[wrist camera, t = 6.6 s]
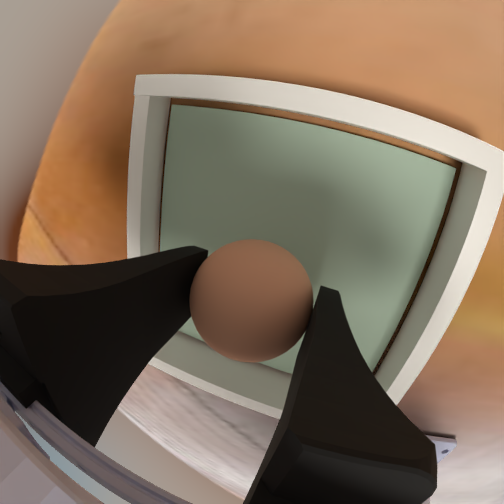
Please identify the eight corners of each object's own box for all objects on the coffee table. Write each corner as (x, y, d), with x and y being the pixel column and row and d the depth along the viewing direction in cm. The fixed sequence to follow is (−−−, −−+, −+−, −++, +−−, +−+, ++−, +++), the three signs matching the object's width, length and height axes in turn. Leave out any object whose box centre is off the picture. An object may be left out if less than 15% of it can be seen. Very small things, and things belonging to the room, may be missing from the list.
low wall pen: (369, 407, 14) (365, 443, 12) (147, 326, 17) (123, 350, 15) (484, 150, 8) (512, 156, 6) (158, 80, 12) (121, 75, 9)
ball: (306, 331, 12) (279, 404, 9) (216, 300, 13) (166, 357, 10) (334, 241, 10) (317, 300, 7) (228, 211, 11) (166, 250, 8)
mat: (359, 389, 14) (359, 394, 14) (162, 319, 17) (159, 322, 16) (454, 167, 9) (456, 168, 9) (175, 104, 12) (171, 104, 12)
